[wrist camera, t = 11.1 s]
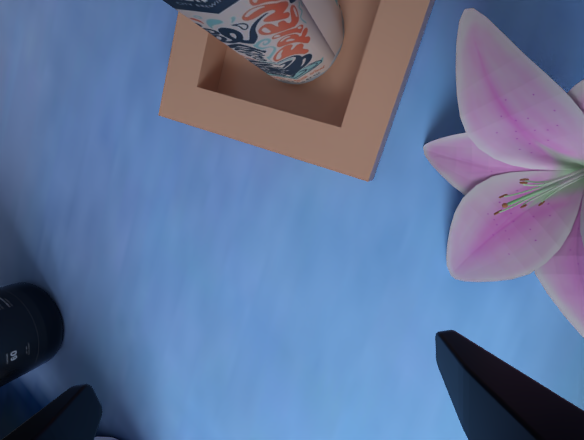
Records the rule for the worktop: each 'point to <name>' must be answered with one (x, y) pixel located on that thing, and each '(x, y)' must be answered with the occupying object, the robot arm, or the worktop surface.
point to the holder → (303, 89)
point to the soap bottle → (104, 438)
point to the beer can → (274, 33)
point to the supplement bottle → (27, 330)
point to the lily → (514, 170)
